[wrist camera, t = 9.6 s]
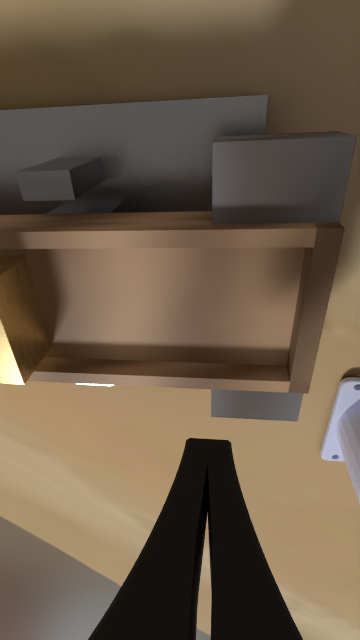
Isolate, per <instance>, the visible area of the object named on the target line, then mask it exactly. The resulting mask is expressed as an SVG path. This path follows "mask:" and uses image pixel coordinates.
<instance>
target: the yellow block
mask: <svg viewBox="0 0 360 640" xmlns="http://www.w3.org/2000/svg"><path fill="white" fill-rule="evenodd" d="M51 347H52V346H51V343H50V339H49V336H48V332H47V328H46V325H45V321H44V318H43V314H42V311H41V307H40V303H39V300H38V296H37V293H36V289H35V286H34V282H33V278H32V275H31V271H30V268H29V264H28V261H27V257H26V256H16V255H0V383H5V384H20V385H25V383H26V382H27V380H28V379H29V378H30V376H31V375H32V373H33V372H34V371H35V369H36V368H37V366H38V365H39V364H40V362H41V361H42V359H43V358H44V357H45V355H46V354H47V352H48V351H49V349H50V348H51Z"/></svg>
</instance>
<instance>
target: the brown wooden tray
mask: <svg viewBox="0 0 360 640" xmlns="http://www.w3.org/2000/svg"><path fill="white" fill-rule="evenodd" d="M356 138H357V136H354V135H350V134H346V133H342V132H338V131H332V132H310V133H287V134H265V135H242V136H220V137H214V139H213V159H212V211H193V212H138V213H84V214H29V215H0V255H16V256H26V257H27V261H28V264H29V268H30V271H31V275H32V278H33V282H34V286H35V289H36V293H37V296H38V300H39V303H40V307H41V311H42V314H43V318H44V321H45V325H46V328H47V332H48V336H49V339H50V343H51V346H52V347H51V348H50V349H49V351H48V352H47V354H46V355H45V357H44V358H43V359H42V361H41V362H40V364H39V365H38V366H37V368H36V369H35V371H34V372H33V373H32V375H31V376H30V378H29V379H28V380H27V381H39V382H62V383H84V384H106V385H129V386H151V387H174V388H196V389H211V417H225V418H244V419H262V420H281V421H298V416H299V411H300V406H301V401H302V397H303V393H308V392H309V388H310V383H311V379H312V374H313V369H314V365H315V360H316V356H317V351H318V347H319V342H320V338H321V333H322V329H323V324H324V319H325V315H326V310H327V306H328V301H329V297H330V292H331V288H332V283H333V279H334V274H335V269H336V265H337V260H338V256H339V251H340V247H341V242H342V238H343V233H344V229H345V228H344V227H343V226H342V225H341V224H340V223H339V219H340V215H341V210H342V205H343V200H344V195H345V191H346V186H347V181H348V176H349V172H350V167H351V162H352V157H353V152H354V148H355V143H356Z"/></svg>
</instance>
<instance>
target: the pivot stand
mask: <svg viewBox="0 0 360 640" xmlns="http://www.w3.org/2000/svg"><path fill="white" fill-rule="evenodd" d="M267 103H268V95H253V96H236V97H219V98H202V99H185V100H167V101H150V102H133V103H116V104H98V105H81V106H64V107H47V108H30V109H12V110H0V215H29V214H84V213H138V212H193V211H212V159H213V139H214V137H220V136H242V135H265V128H266V116H267ZM76 384H77V385H102V386H114V385H106V384H84V383H76Z"/></svg>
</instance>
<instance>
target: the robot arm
mask: <svg viewBox="0 0 360 640" xmlns="http://www.w3.org/2000/svg"><path fill="white" fill-rule="evenodd" d="M357 384H360V378H358V377H347V378H344V379H343V380H341V382H340V384H339V388H338V391H337V395H336V398H335V402H334V405H333V409H332V412H331V416H330V419H329V423H328V426H327V430H326V433H325V437H324V440H323V444H322V448H321V451H320V454H321V458H322V459H324V460H329V461H345V463H346V466H347V469H348V472H349V475H350V478H351V481H352V484H353V486H354V489H355V492H356V495H357V498H358V501H359V504H360V385H358V386H355V385H357ZM207 512H208V529H209V549H210V569H211V589H212V610H211V640H303V639H302V637H301V635H300V633H299V631H298V629H297V627H296V625H295V623H294V621H293V619H292V616H291V614H290V612H289V610H288V608H287V606H286V604H285V601H284V599H283V597H282V595H281V593H280V591H279V588H278V586H277V584H276V582H275V579H274V577H273V575H272V572H271V570H270V568H269V565H268V563H267V561H266V558H265V556H264V553H263V551H262V548H261V546H260V543H259V540H258V538H257V535H256V533H255V530H254V527H253V524H252V522H251V519H250V516H249V513H248V510H247V507H246V504H245V501H244V498H243V495H242V491H241V488H240V485H239V481H238V477H237V473H236V469H235V465H234V460H233V454H232V447H231V442H229V441H228V440H214V439H197V438H189V439H188V440H186V444H185V449H184V452H183V456H182V459H181V463H180V466H179V469H178V471H177V474H176V477H175V480H174V482H173V485H172V487H171V490H170V492H169V494H168V497H167V499H166V502H165V504H164V506H163V509H162V511H161V513H160V515H159V517H158V519H157V521H156V523H155V525H154V528H153V530H152V532H151V534H150V536H149V538H148V540H147V542H146V544H145V546H144V548H143V549H142V551H141V553H140V555H139V557H138V559H137V561H136V562H135V564H134V566H133V568H132V570H131V571H130V573H129V575H128V577H127V578H126V580H125V582H124V583H123V585H122V587H121V588H120V590H119V592H118V593H117V595H116V597H115V598H114V600H113V602H112V603H111V605H110V607H109V608H108V610H107V611H106V613H105V615H104V616H103V618H102V619H101V621H100V622H99V624H98V625H97V627H96V628H95V630H94V631H93V633H92V634H91V636H90V637H89V639H88V640H196V623H197V604H198V592H199V583H200V574H201V565H202V556H203V547H204V539H205V530H206V521H207Z"/></svg>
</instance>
